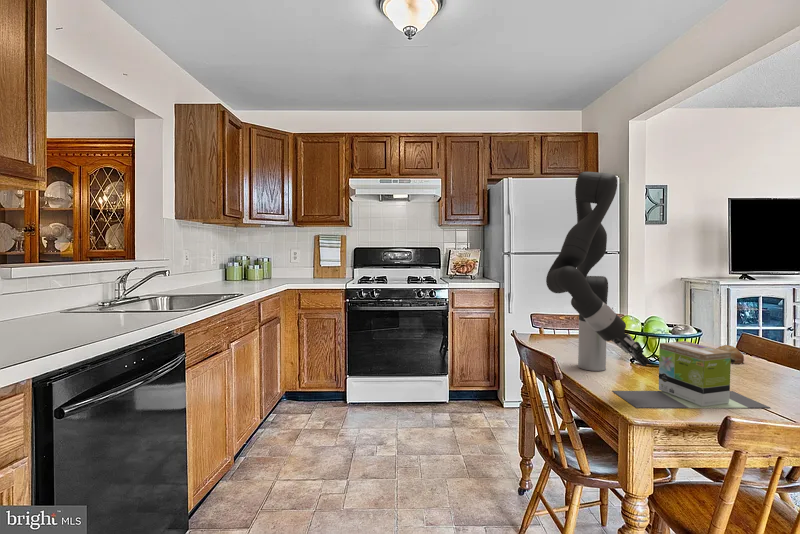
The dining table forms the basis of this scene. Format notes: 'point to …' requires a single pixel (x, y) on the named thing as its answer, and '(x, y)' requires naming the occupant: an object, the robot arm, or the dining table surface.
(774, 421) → the dining table surface
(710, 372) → the tea box
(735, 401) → the mat
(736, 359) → the bread roll
